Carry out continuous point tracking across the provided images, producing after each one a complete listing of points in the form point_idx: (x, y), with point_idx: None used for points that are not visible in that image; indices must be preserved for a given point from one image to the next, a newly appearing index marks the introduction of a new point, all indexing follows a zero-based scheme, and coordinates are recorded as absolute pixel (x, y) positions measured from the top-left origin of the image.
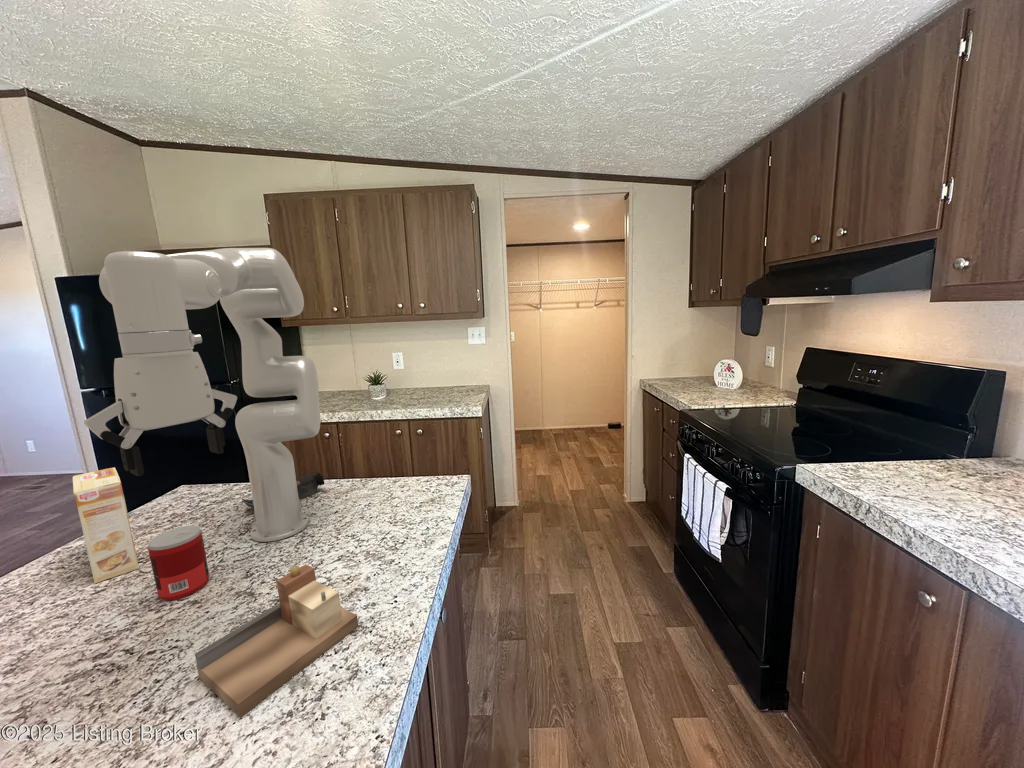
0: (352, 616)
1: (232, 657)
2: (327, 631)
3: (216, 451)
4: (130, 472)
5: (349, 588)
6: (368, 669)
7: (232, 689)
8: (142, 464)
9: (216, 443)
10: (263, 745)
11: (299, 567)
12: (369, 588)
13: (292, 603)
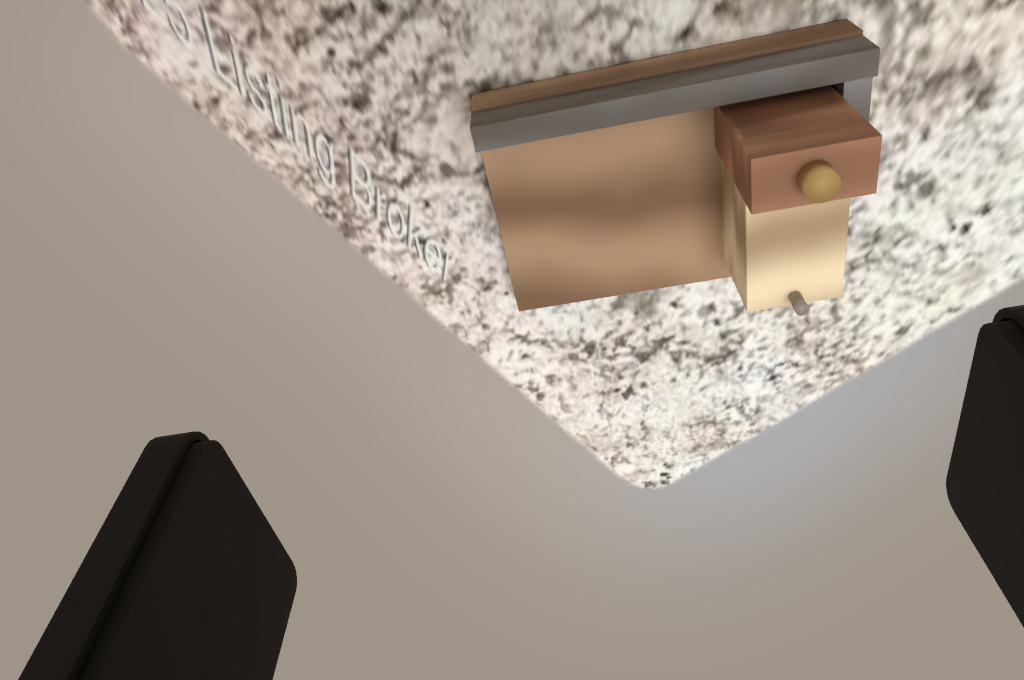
0: None
1: (550, 152)
2: None
3: (962, 477)
4: (162, 436)
5: (963, 41)
6: (746, 366)
7: (520, 264)
8: (274, 659)
9: (1012, 597)
10: (531, 372)
11: (838, 191)
12: (991, 103)
13: (740, 203)
